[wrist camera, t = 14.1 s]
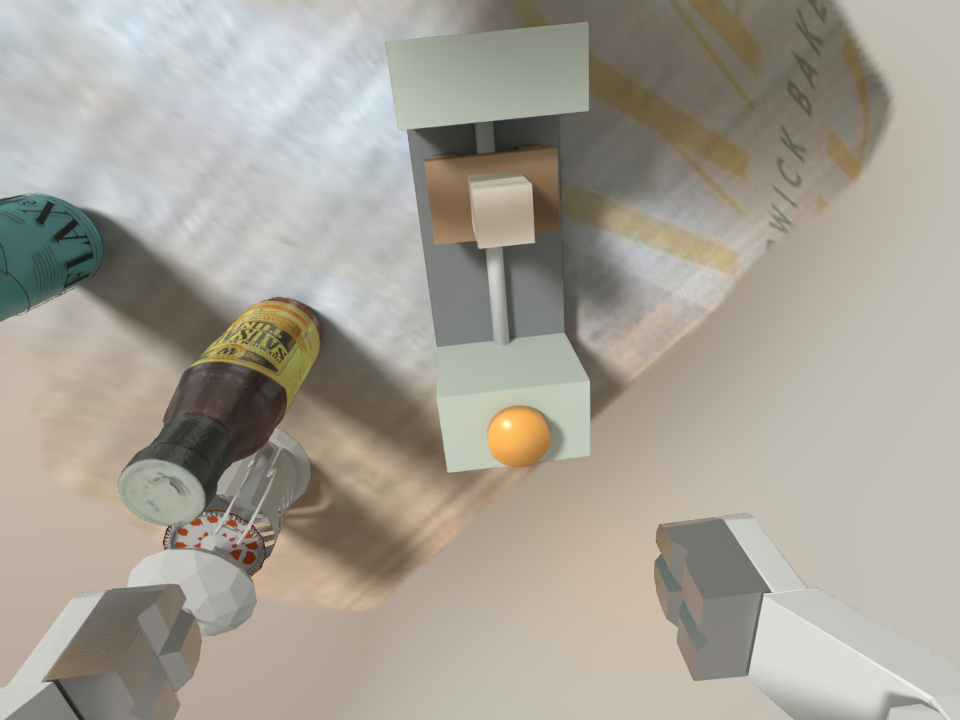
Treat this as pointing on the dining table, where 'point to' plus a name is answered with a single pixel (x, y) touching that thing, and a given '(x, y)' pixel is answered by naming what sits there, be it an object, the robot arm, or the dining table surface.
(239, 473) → the french press
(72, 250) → the beverage bottle
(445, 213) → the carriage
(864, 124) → the dining table surface
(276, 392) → the sauce bottle
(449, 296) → the rail bench
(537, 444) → the button
